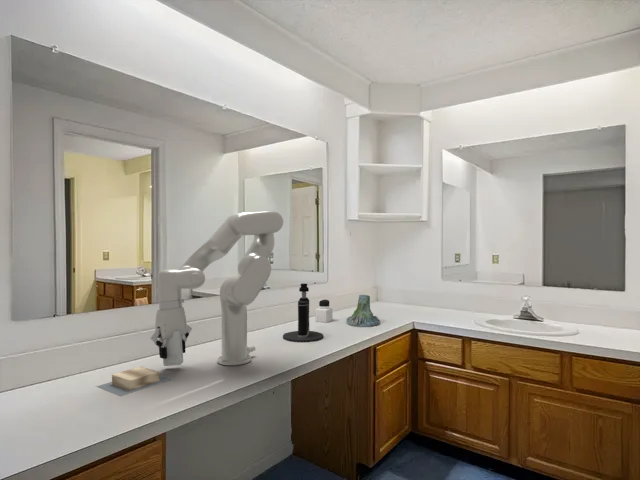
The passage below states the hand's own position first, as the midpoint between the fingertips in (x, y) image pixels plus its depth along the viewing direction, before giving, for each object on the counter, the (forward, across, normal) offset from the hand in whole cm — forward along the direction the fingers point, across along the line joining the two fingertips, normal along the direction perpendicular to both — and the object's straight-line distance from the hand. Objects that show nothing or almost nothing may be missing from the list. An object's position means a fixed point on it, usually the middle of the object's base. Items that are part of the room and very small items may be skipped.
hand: (172, 354), depth 145 cm
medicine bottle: (+10, -103, -6) cm, 103 cm away
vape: (+9, -66, +8) cm, 67 cm away
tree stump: (+10, -110, +15) cm, 112 cm away
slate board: (+5, +15, +2) cm, 16 cm away
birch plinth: (+5, +15, +2) cm, 16 cm away
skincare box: (+4, 0, 0) cm, 4 cm away
